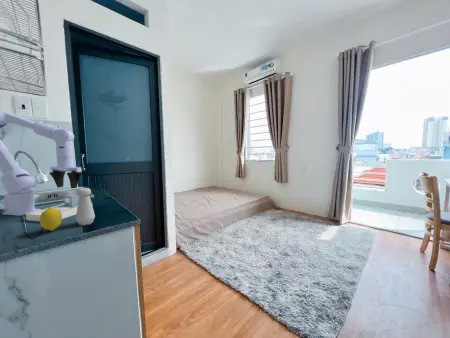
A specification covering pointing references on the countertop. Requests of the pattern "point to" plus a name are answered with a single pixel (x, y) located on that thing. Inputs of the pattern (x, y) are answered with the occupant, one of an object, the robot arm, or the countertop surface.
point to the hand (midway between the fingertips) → (67, 187)
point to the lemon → (50, 219)
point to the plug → (71, 200)
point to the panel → (64, 210)
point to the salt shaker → (84, 207)
